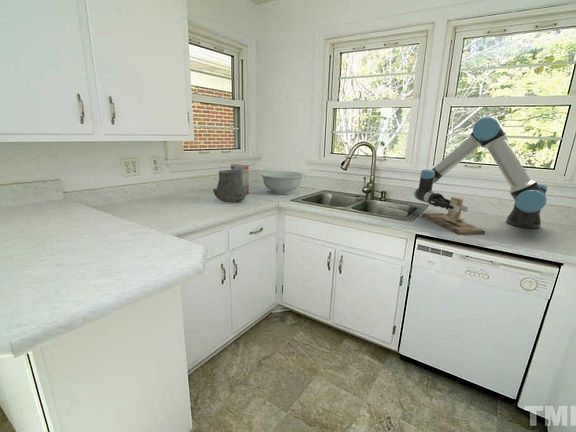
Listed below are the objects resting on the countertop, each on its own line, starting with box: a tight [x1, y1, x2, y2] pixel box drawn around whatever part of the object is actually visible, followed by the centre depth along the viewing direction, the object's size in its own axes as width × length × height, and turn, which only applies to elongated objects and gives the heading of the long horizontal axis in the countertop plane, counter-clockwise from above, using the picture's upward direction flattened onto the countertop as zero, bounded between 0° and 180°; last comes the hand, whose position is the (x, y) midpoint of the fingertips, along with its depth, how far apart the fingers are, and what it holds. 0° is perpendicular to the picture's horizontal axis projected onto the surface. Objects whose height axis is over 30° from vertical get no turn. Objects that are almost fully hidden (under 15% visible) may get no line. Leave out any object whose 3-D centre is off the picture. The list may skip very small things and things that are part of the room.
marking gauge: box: [443, 196, 465, 223], centre depth 153 cm, size 5×11×12 cm, turn 9°
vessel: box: [212, 169, 247, 203], centre depth 190 cm, size 22×22×20 cm
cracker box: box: [230, 163, 250, 195], centre depth 216 cm, size 14×6×21 cm, turn 49°
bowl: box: [260, 170, 304, 195], centre depth 222 cm, size 32×32×15 cm
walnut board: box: [420, 212, 486, 236], centre depth 158 cm, size 32×14×2 cm, turn 9°
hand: (462, 209), depth 148 cm, fingers closed on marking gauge, 4 cm apart
